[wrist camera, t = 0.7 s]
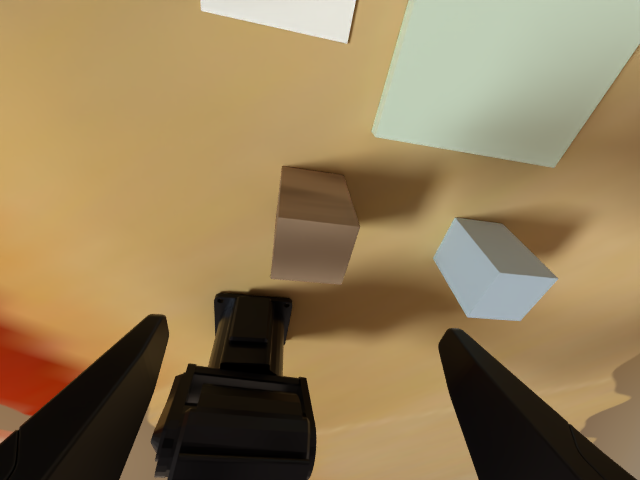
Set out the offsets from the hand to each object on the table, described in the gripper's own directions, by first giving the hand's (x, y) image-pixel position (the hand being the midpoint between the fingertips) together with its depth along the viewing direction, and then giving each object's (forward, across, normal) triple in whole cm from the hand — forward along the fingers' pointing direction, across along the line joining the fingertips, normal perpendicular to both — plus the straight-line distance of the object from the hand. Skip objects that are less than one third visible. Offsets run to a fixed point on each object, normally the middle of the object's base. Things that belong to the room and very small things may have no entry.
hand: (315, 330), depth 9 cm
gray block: (+12, -14, +4) cm, 18 cm away
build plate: (+12, -10, -9) cm, 18 cm away
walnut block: (+12, -1, +1) cm, 12 cm away
